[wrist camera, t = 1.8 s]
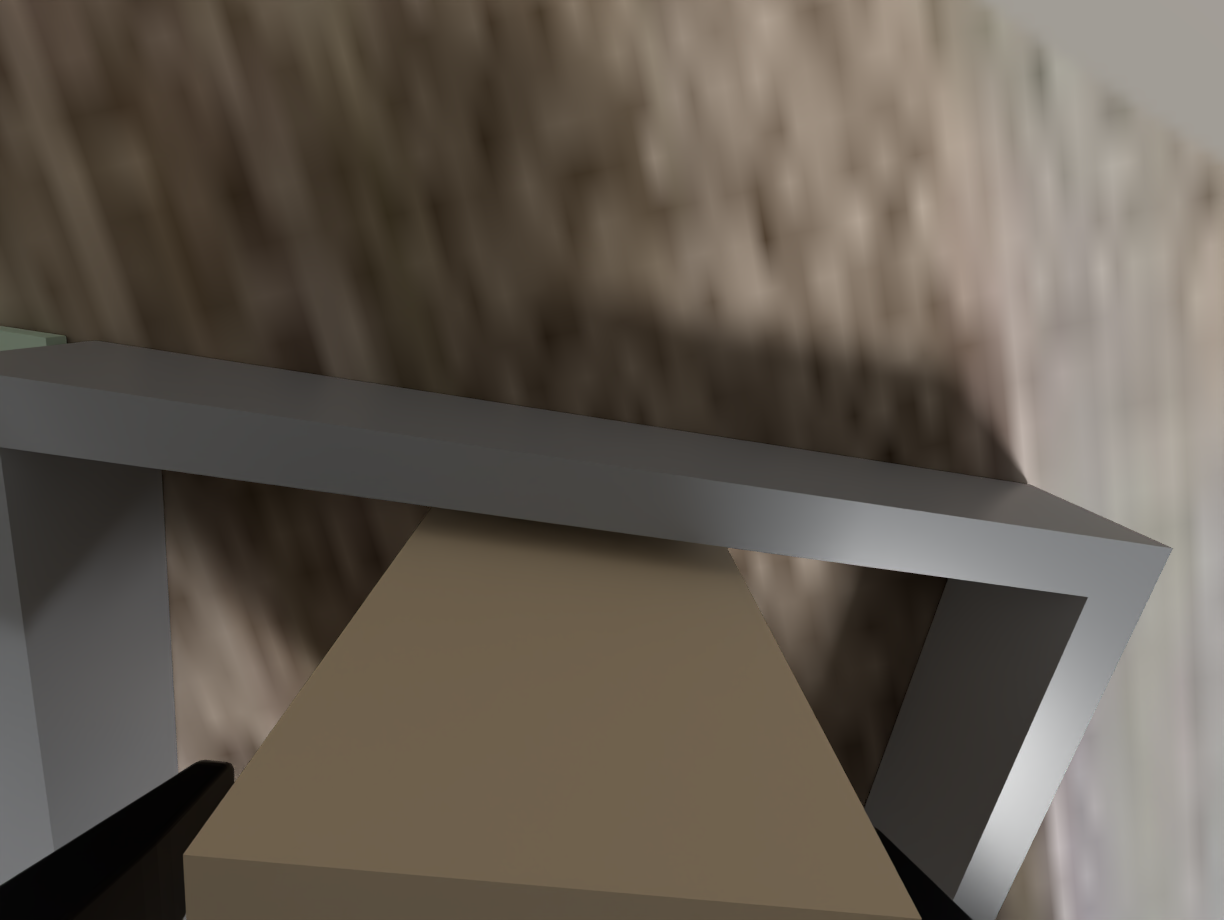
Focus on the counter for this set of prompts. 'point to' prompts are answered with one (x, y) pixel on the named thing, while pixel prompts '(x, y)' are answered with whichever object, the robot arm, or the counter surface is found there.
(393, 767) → the kraft box
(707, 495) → the grey bin
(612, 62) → the counter surface
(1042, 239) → the counter surface
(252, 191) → the counter surface
